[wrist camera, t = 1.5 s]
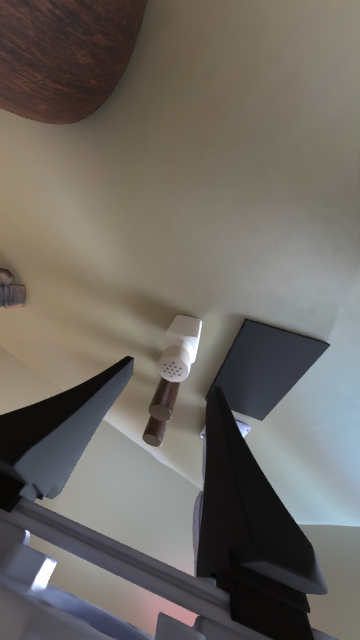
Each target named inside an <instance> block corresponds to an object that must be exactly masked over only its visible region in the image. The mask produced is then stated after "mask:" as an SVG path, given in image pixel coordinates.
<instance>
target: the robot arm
mask: <svg viewBox="0 0 360 640" xmlns="http://www.w3.org/2000/svg"><path fill="white" fill-rule="evenodd" d="M133 365H134V358H133V357H130V356H126V357H125V358H123V359H122V360H120V361H119V362H117V363H116V364H114V365H113V366H111V367H110V368H108V369H106V370H105V371H103V372H102V373H100V374H98V375H96V376H95V377H93V378H91V379H89V380H87V381H85V382H84V383H82V384H80V385H78V386H75V387H73V388H71V389H69V390H67V391H65V392H62V393H60V394H58V395H55V396H53V397H50V398H48V399H45V400H43V401H40V402H38V403H35V404H33V405H30V406H27V407H24V408H21V409H18V410H15V411H12V412H9V413H6V414H3V415H0V640H339V639H337V638H335V637H332V636H330V635H328V634H326V633H324V632H321V631H319V630H316V629H314V628H311V626H310V623H309V619H308V616H307V612H308V613H310V607H309V604H308V600H307V597H306V594H318V595H324V594H327V593H328V587H327V584H326V581H325V578H324V576H323V573H322V570H321V567H320V564H319V562H318V559H317V557H316V554H315V552H314V549H313V547H312V545H311V543H310V542H309V540H308V539H307V537H306V536H305V535H304V533H303V532H302V531H301V529H300V528H299V526H298V525H297V523H296V522H295V520H294V519H293V518H292V516H291V515H290V513H289V512H288V511H287V509H286V508H285V506H284V505H283V503H282V502H281V500H280V499H279V497H278V496H277V494H276V493H275V491H274V489H273V488H272V486H271V485H270V483H269V481H268V480H267V478H266V477H265V475H264V473H263V472H262V470H261V468H260V467H259V465H258V463H257V462H256V460H255V458H254V456H253V455H252V453H251V451H250V449H249V447H248V445H247V443H246V441H245V440H244V437H245V435H246V434H247V433H248V432H249V431H250V430H251V427H250V426H249V425H246V424H243V423H241V422H238V421H235V418H234V416H233V414H232V411H231V409H230V407H229V404H228V402H227V399H226V396H225V394H224V391H223V389H222V388H221V387H218V386H214V388H213V390H212V392H211V394H210V395H209V397H208V399H207V404H206V424H205V426H204V428H203V430H202V431H201V433H200V435H199V437H200V438H202V439H203V465H202V475H203V481H204V483H203V491H200V493H199V494H198V496H197V498H196V501H195V506H194V513H193V549H194V564H195V565H194V566H195V567H194V571H195V572H194V577H193V576H191V575H189V574H187V573H185V572H183V571H180V570H178V569H176V568H174V567H172V566H170V565H167V564H165V563H163V562H161V561H159V560H157V559H154V558H152V557H150V556H148V555H146V554H144V553H142V552H140V551H137V550H135V549H133V548H131V547H129V546H127V545H124V544H122V543H120V542H118V541H116V540H114V539H112V538H109V537H107V536H105V535H103V534H101V533H99V532H96V531H94V530H92V529H90V528H88V527H86V526H84V525H81V524H79V523H77V522H75V521H73V520H70V519H68V518H66V517H64V516H62V515H60V514H57V513H56V512H53V511H51V510H49V509H47V508H45V507H43V506H40V505H38V504H36V503H34V501H35V499H36V498H38V499H40V500H43V499H44V497H47V498H49V499H53V498H54V497H56V496H58V495H59V494H60V493H61V492H62V490H63V488H64V486H65V484H66V482H67V480H68V479H69V477H70V474H71V473H72V471H73V469H74V467H75V466H76V464H77V462H78V460H79V459H80V457H81V455H82V453H83V451H84V449H85V448H86V446H87V444H88V443H89V441H90V439H91V437H92V436H93V434H94V432H95V431H96V429H97V428H98V426H99V424H100V423H101V421H102V419H103V418H104V416H105V415H106V413H107V412H108V410H109V409H110V407H111V406H112V405H113V403H114V402H115V400H116V399H117V398H118V396H119V395H120V393H121V392H122V391H123V389H124V388H125V386H126V385H127V383H128V381H129V380H130V378H131V376H132V374H133ZM30 533H31V534H33V535H35V536H37V537H39V538H42V539H43V540H46V541H48V542H50V543H52V544H54V545H56V546H58V547H60V548H62V549H64V550H66V551H68V552H70V553H72V554H74V555H76V556H78V557H80V558H83V559H85V560H87V561H89V562H91V563H93V564H95V565H97V566H99V567H101V568H103V569H105V570H107V571H109V572H111V573H113V574H115V575H117V576H120V577H122V578H124V579H126V580H128V581H130V582H132V583H134V584H136V585H138V586H140V587H142V588H145V589H146V590H148V591H150V592H152V593H155V594H157V595H159V596H161V597H163V598H165V599H167V600H169V601H171V602H173V603H175V604H177V605H179V606H181V607H183V608H185V609H187V610H189V611H191V612H193V613H196V614H198V615H200V616H198V617H197V618H196V620H195V623H194V626H193V627H190V626H188V625H186V624H184V623H182V622H180V621H178V620H176V619H174V618H172V617H170V616H168V615H166V614H164V613H162V612H160V613H159V614H158V620H157V627H156V635H155V637H153V636H151V635H150V634H148V633H146V632H144V631H143V630H141V629H139V628H137V627H135V626H133V625H132V624H130V623H128V622H126V621H125V620H123V619H121V618H119V617H117V616H115V615H114V614H112V613H110V612H108V611H106V610H104V609H102V608H100V607H98V606H96V605H94V604H92V603H90V602H88V601H86V600H84V599H82V598H80V597H78V596H76V595H74V594H72V593H70V592H67V591H65V590H63V589H61V588H59V587H57V586H55V585H53V584H50V583H48V579H49V577H50V575H51V573H52V571H53V569H54V567H55V565H56V560H55V559H53V558H51V557H49V556H47V555H46V554H44V553H42V552H39V551H37V550H35V549H33V548H31V547H29V546H28V542H29V539H30Z"/></svg>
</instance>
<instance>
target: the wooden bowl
mask: <svg viewBox="0 0 360 640" xmlns="http://www.w3.org/2000/svg"><path fill="white" fill-rule="evenodd" d="M145 5H146V0H0V108H2V109H4V110H7V111H9V112H11V113H14V114H16V115H18V116H21V117H24V118H28V119H31V120H35V121H39V122H42V123H49V124H70V123H74V122H77V121H80V120H82V119H84V118H86V117H87V116H89V115H91V114H92V113H93V112H94V111H96V110H97V109H98V108H99V107H100V106H101V105H102V104H103V103H104V101H105V100H106V99H107V98H108V97H109V95H110V94H111V92H112V91H113V90H114V88H115V86H116V85H117V83H118V81H119V79H120V78H121V76H122V74H123V71H124V69H125V67H126V65H127V63H128V61H129V58H130V55H131V53H132V50H133V47H134V45H135V42H136V38H137V35H138V32H139V29H140V25H141V21H142V17H143V13H144V9H145Z"/></svg>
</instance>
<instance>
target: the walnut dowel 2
mask: <svg viewBox="0 0 360 640" xmlns="http://www.w3.org/2000/svg"><path fill="white" fill-rule="evenodd" d="M167 422H168V421H161V420H158V419H156V418H154V417H153V416H152V415H151V416H150V418H149V421H148V424H147V426H146V429H145V431H144V434H143V440H144V441H145V442H146V443H147V444H149V445H151V446H155V447H158V446H161V444H162V441H163V437H164V433H165V430H166V426H167Z"/></svg>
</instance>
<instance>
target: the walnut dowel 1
mask: <svg viewBox="0 0 360 640" xmlns="http://www.w3.org/2000/svg"><path fill="white" fill-rule="evenodd" d="M179 385H180V382H171V381H169V380H166V379H164V378H163V377H162V378H161V380H160V383H159V385H158V388H157V390H156V392H155V395H154V397H153V399H152V402H151V404H150V406H149V413H150V414H151V415H152V416H153V417H154V418H156V419H158V420H161V421H168V420H170V419H171V417H172V413H173V409H174V405H175V401H176V397H177V393H178V389H179Z"/></svg>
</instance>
